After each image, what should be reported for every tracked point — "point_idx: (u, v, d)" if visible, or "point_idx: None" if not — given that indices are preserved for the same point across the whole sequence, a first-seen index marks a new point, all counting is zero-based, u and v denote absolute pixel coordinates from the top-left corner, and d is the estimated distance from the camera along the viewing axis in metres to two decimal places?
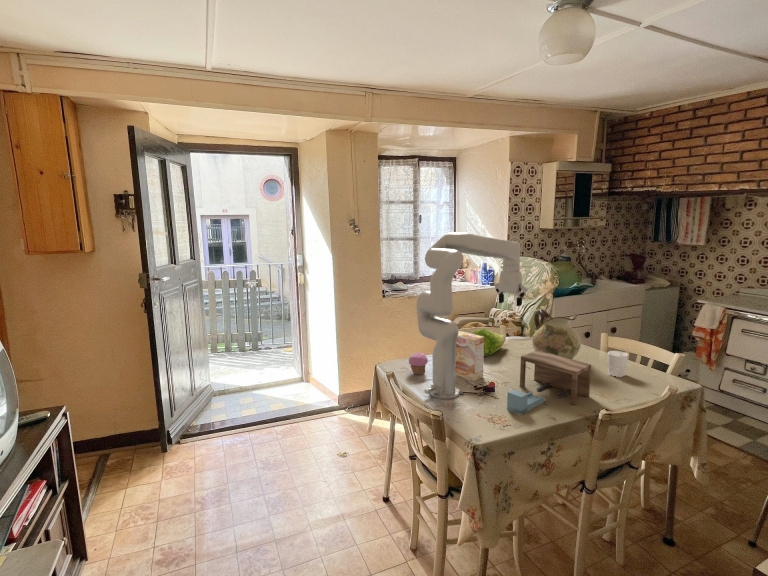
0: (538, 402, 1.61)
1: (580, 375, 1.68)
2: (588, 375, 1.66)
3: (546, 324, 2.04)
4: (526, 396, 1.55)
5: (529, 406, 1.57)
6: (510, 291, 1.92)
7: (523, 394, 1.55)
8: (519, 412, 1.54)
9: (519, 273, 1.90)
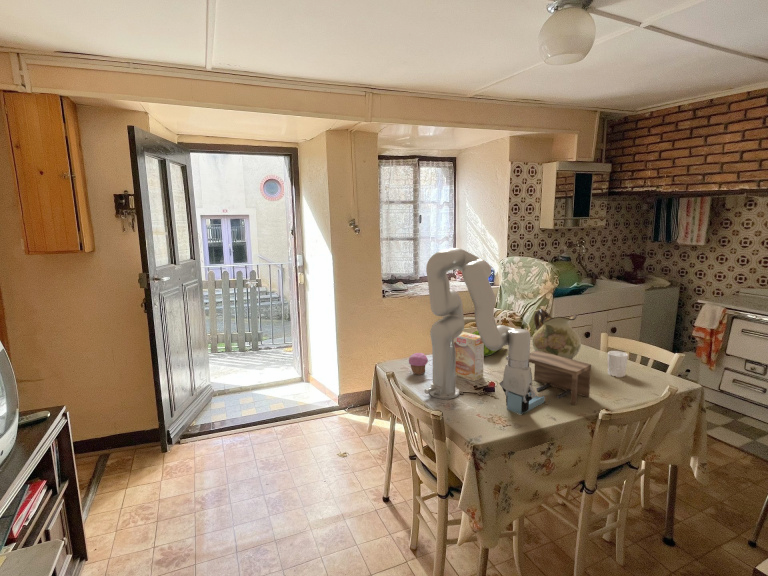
0: (538, 402, 1.61)
1: (580, 375, 1.68)
2: (588, 375, 1.66)
3: (546, 324, 2.04)
4: None
5: (529, 406, 1.57)
6: (517, 392, 1.53)
7: None
8: (519, 412, 1.54)
9: (529, 371, 1.51)
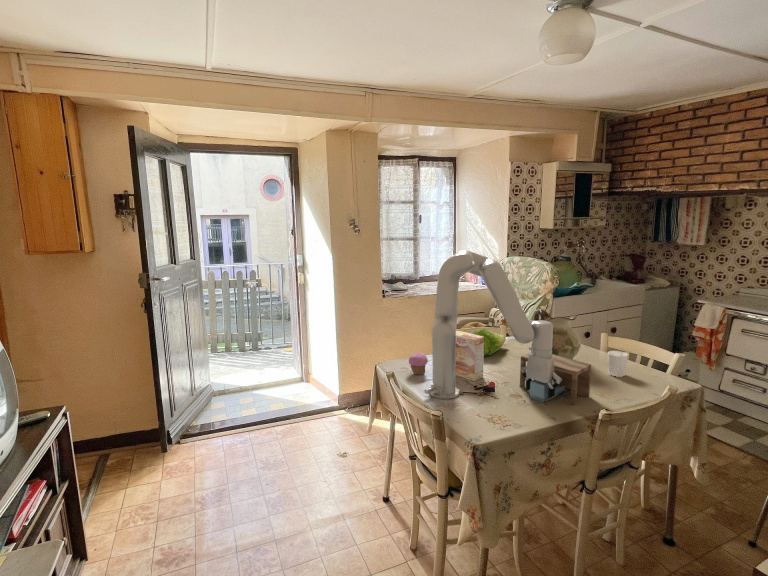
0: (558, 391, 1.70)
1: (580, 375, 1.68)
2: (588, 375, 1.66)
3: None
4: (548, 385, 1.64)
5: None
6: (541, 380, 1.62)
7: (545, 383, 1.64)
8: (542, 400, 1.64)
9: (552, 360, 1.60)
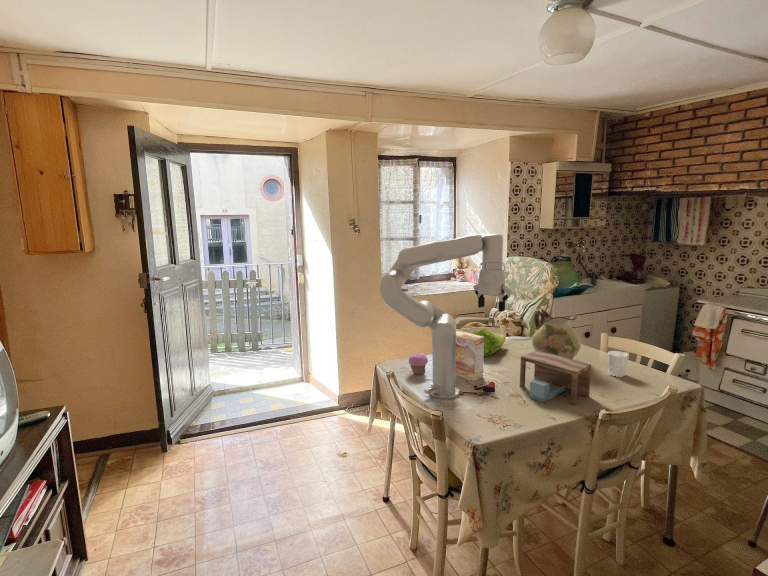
0: (558, 391, 1.70)
1: (580, 375, 1.68)
2: (588, 375, 1.66)
3: (546, 324, 2.04)
4: (548, 385, 1.64)
5: (551, 394, 1.66)
6: (491, 293, 1.60)
7: (545, 383, 1.64)
8: (542, 400, 1.64)
9: (501, 272, 1.59)
